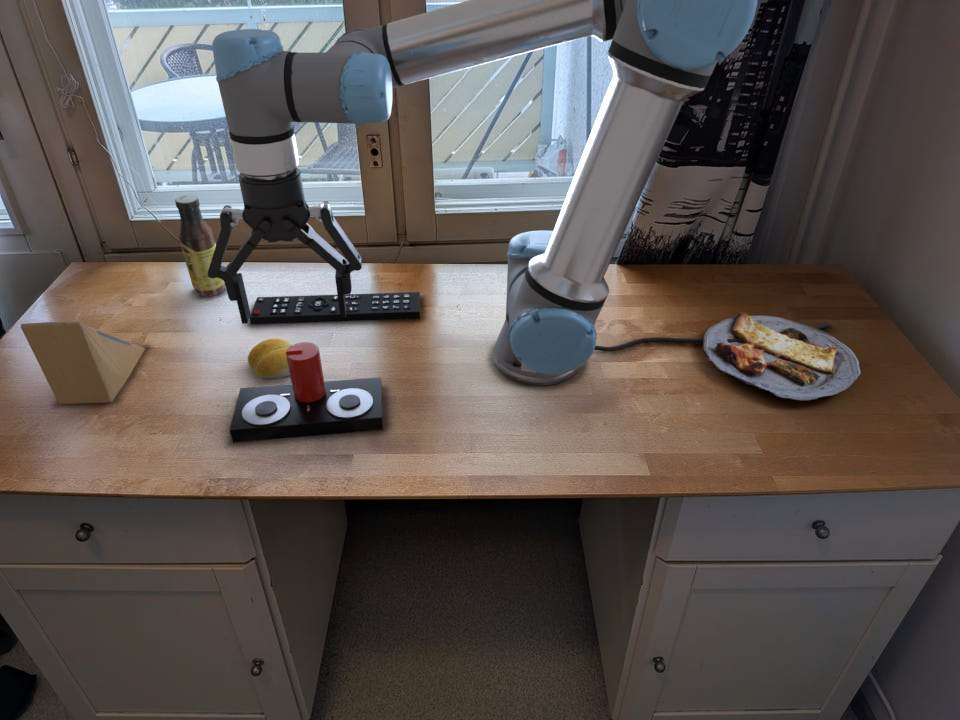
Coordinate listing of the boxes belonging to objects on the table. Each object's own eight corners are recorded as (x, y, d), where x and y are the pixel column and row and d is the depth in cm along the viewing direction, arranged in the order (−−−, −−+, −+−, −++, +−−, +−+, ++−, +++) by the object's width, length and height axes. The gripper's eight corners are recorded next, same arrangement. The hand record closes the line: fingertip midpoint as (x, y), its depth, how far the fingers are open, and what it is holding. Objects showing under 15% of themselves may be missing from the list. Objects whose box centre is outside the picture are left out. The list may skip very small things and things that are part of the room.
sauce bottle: (195, 285, 134) (169, 192, 122) (227, 281, 135) (204, 189, 123) (193, 300, 128) (166, 205, 117) (227, 296, 130) (203, 201, 118)
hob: (382, 383, 107) (380, 370, 106) (383, 429, 98) (381, 416, 96) (245, 393, 105) (241, 380, 103) (232, 442, 95) (228, 429, 94)
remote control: (257, 303, 128) (255, 295, 127) (419, 298, 130) (419, 289, 129) (249, 324, 122) (247, 315, 120) (420, 318, 124) (419, 309, 123)
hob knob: (326, 382, 103) (319, 339, 98) (325, 401, 99) (317, 357, 94) (295, 384, 103) (287, 341, 98) (292, 404, 99) (283, 359, 94)
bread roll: (266, 387, 106) (262, 367, 104) (243, 363, 112) (238, 343, 109) (312, 368, 111) (308, 348, 108) (287, 345, 116) (283, 326, 114)
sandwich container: (147, 347, 115) (120, 272, 106) (113, 402, 103) (80, 322, 94) (97, 349, 115) (66, 273, 106) (57, 404, 102) (18, 324, 93)
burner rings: (372, 388, 102) (372, 385, 102) (373, 416, 97) (372, 413, 96) (246, 397, 100) (245, 394, 100) (238, 428, 94) (237, 424, 94)
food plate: (676, 359, 113) (680, 343, 111) (739, 311, 127) (743, 295, 125) (820, 427, 99) (827, 409, 97) (873, 364, 113) (881, 347, 111)
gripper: (370, 156, 85) (382, 297, 97) (171, 163, 82) (210, 307, 94) (370, 176, 79) (383, 323, 91) (155, 184, 76) (199, 335, 88)
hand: (295, 315), depth 93 cm, fingers open, 13 cm apart
